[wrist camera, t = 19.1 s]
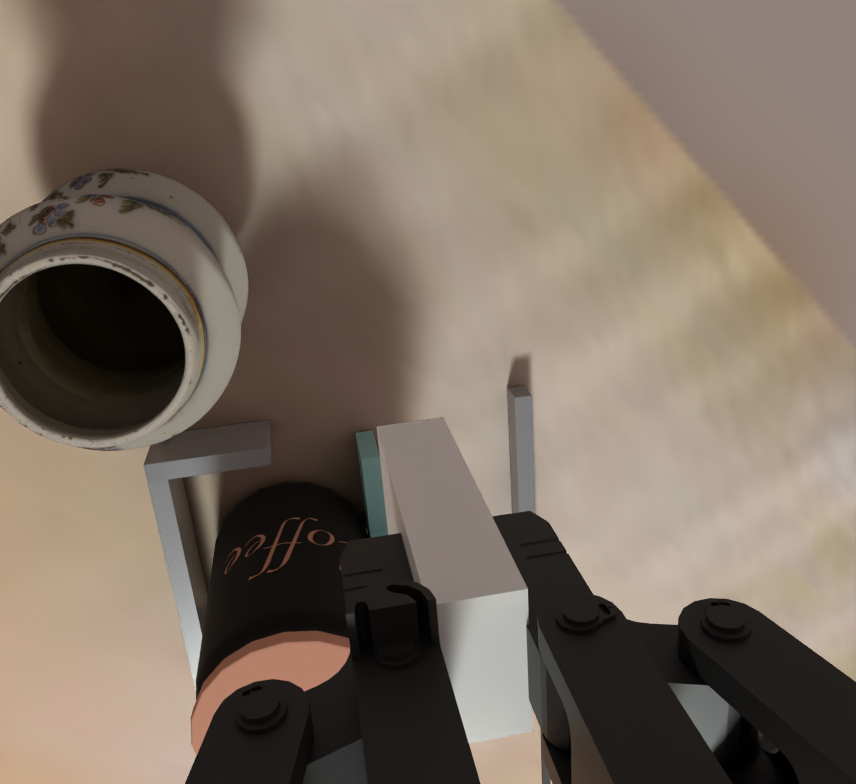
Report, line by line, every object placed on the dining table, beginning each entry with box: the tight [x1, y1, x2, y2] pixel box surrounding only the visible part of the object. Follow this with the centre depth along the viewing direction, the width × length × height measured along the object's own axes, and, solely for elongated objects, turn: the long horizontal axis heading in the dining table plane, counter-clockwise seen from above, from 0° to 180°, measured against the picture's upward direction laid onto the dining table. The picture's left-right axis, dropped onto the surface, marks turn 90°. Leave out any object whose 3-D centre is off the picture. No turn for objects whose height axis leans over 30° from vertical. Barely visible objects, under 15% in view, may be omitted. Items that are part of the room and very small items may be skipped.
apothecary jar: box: [0, 169, 248, 451], centre depth 40 cm, size 12×12×18 cm
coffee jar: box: [191, 483, 368, 755], centre depth 49 cm, size 11×11×18 cm
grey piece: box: [144, 385, 535, 689], centre depth 55 cm, size 19×25×4 cm
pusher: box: [356, 430, 388, 538], centre depth 51 cm, size 16×2×15 cm, turn 4°
